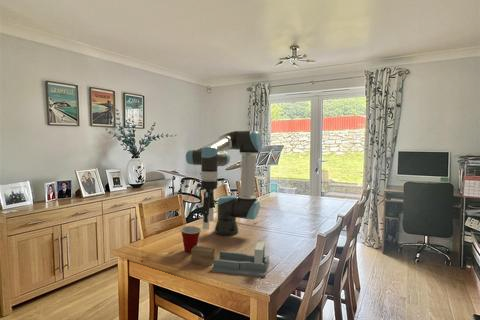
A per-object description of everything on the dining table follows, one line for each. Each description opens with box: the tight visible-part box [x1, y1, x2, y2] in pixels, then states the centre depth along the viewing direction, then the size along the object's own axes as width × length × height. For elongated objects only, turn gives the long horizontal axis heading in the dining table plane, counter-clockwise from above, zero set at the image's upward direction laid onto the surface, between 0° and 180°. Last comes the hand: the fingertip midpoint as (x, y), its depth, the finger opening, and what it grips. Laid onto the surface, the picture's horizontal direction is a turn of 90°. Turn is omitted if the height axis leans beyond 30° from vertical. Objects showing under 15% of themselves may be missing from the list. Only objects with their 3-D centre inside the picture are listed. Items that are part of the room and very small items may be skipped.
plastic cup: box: [180, 225, 202, 254], centre depth 152 cm, size 11×11×12 cm
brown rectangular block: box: [190, 245, 216, 267], centre depth 138 cm, size 5×10×7 cm, turn 78°
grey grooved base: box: [211, 242, 270, 278], centre depth 134 cm, size 16×24×11 cm, turn 78°
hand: (208, 225), depth 136 cm, fingers open, 13 cm apart
